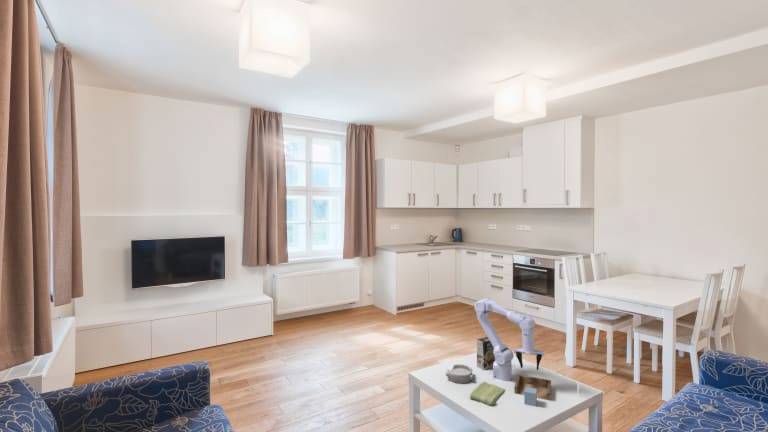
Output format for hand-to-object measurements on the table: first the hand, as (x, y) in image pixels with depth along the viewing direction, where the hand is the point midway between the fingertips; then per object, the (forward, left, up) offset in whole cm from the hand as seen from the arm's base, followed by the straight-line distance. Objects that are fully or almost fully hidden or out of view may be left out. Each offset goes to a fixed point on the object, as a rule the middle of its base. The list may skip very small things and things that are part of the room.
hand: (529, 368), depth 192 cm
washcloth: (-18, -16, -11) cm, 27 cm away
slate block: (+2, -16, -11) cm, 20 cm away
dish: (-35, -4, -11) cm, 37 cm away
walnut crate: (+2, -4, -10) cm, 11 cm away
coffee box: (-25, +16, -11) cm, 32 cm away
